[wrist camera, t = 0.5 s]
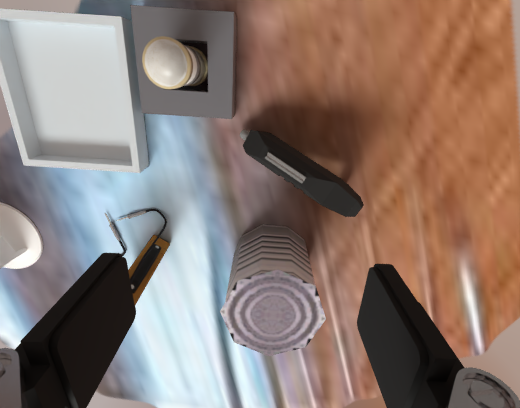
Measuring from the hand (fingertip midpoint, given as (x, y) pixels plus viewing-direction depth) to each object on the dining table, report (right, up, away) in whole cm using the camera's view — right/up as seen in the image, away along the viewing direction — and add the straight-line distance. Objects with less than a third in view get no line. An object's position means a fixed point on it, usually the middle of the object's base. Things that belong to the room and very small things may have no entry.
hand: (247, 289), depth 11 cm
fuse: (-7, +19, +21) cm, 29 cm away
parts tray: (-20, +16, +23) cm, 35 cm away
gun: (+5, +9, +26) cm, 28 cm away
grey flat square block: (-7, +19, +21) cm, 29 cm away
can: (+2, -4, +32) cm, 32 cm away
